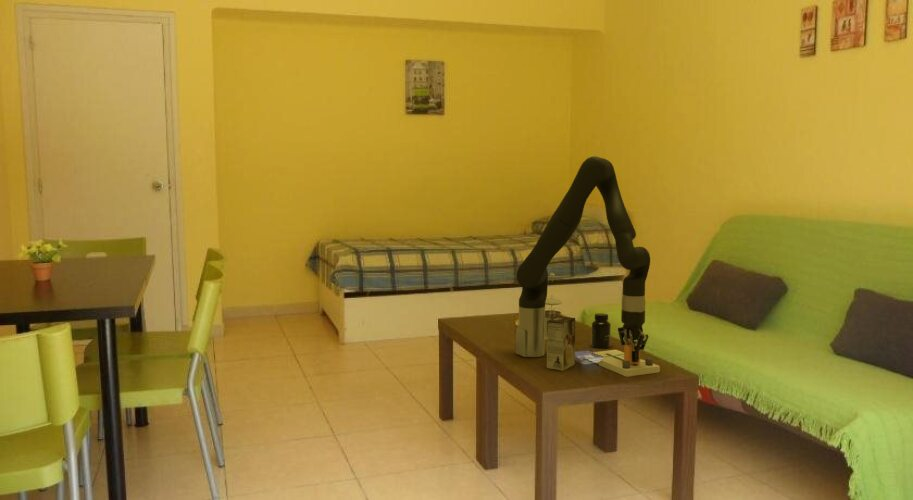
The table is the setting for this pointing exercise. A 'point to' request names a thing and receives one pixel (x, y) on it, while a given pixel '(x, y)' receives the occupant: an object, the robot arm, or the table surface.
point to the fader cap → (629, 354)
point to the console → (626, 364)
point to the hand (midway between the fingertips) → (632, 360)
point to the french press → (549, 313)
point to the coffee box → (560, 343)
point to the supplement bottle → (600, 331)
